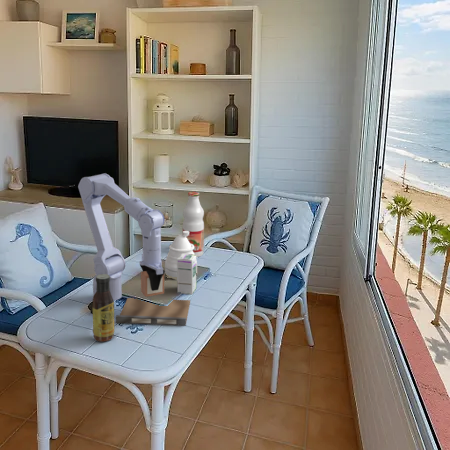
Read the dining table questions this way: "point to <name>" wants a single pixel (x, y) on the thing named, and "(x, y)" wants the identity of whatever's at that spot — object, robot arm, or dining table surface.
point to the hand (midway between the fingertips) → (152, 286)
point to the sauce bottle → (103, 310)
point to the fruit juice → (194, 223)
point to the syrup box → (186, 273)
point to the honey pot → (178, 253)
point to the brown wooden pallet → (154, 313)
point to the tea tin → (147, 287)
